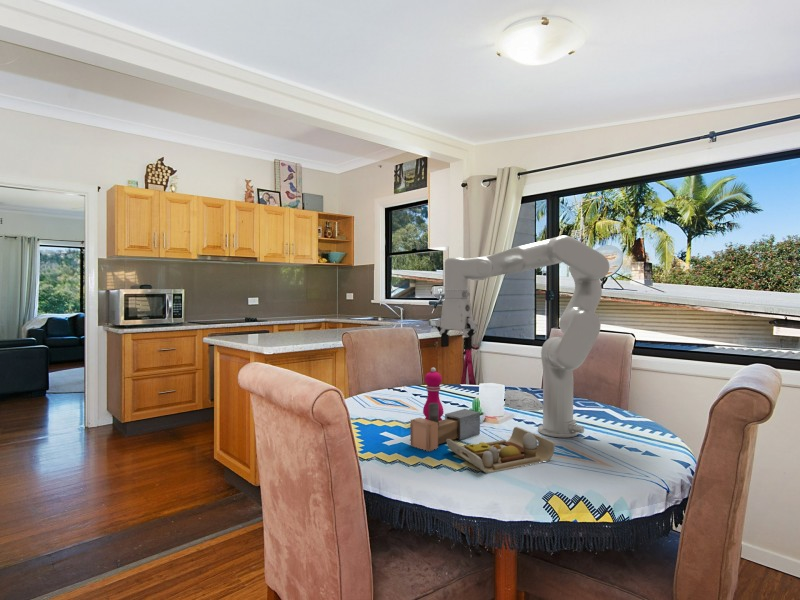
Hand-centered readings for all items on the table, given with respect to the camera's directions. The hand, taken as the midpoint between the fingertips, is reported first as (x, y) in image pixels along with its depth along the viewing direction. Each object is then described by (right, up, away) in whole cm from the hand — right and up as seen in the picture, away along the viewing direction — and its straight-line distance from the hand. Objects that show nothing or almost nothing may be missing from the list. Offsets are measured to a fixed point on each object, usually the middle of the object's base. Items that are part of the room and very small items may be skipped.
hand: (456, 348), depth 155 cm
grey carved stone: (+30, -28, +41) cm, 58 cm away
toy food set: (+10, -29, -20) cm, 37 cm away
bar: (-5, -28, -7) cm, 30 cm away
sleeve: (+2, -28, 0) cm, 28 cm away
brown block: (-11, -29, -12) cm, 33 cm away
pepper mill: (-7, -28, +12) cm, 31 cm away
